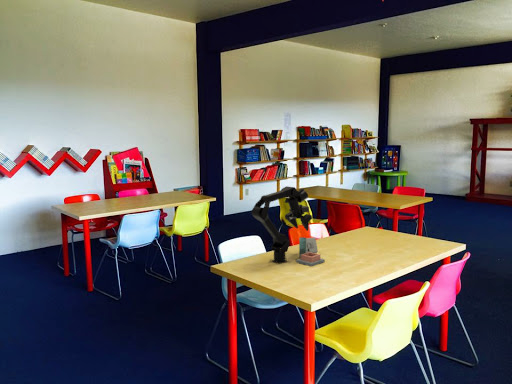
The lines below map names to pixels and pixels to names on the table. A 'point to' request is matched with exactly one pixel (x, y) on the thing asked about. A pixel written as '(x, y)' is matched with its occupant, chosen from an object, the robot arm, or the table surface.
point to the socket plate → (310, 259)
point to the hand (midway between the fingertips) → (302, 229)
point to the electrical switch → (311, 245)
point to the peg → (302, 246)
